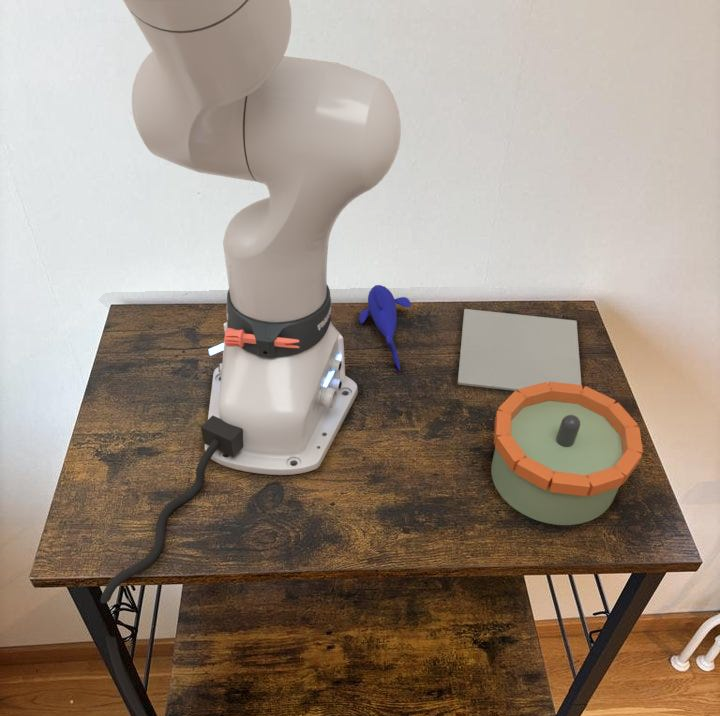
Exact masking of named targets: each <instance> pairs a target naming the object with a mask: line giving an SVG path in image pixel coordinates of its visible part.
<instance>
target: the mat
mask: <svg viewBox="0 0 720 716" xmlns="http://www.w3.org/2000/svg"><path fill="white" fill-rule="evenodd" d="M579 348H580V347H579V334H578V321H577V320H573V319H565V318H564V319H563V318H556V317H555V318H554V317H547V316H545V317H544V316H536V315H528V314H517V313H510V312H509V313H507V312H500V311H499V312H498V311H490V310H481V309H480V310H479V309H472V308H471V309H469V308H464V309H463V318H462V329H461V341H460V350H459V351H460V353H459V361H458V365H459V366H458V373H457V374H458V375H457V385H459V386H468V387H477V388H484V389H485V388H486V389H493V390H503V391H512V392H514V391H518V389H521V388H525V387H528V386H532V385H536V384H539V383H543V382H547V383H548V384H549V382H559V383H568V384H577V385H582V375H581V374H582V373H581V362H580V361H581V360H580V349H579Z"/></svg>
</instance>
